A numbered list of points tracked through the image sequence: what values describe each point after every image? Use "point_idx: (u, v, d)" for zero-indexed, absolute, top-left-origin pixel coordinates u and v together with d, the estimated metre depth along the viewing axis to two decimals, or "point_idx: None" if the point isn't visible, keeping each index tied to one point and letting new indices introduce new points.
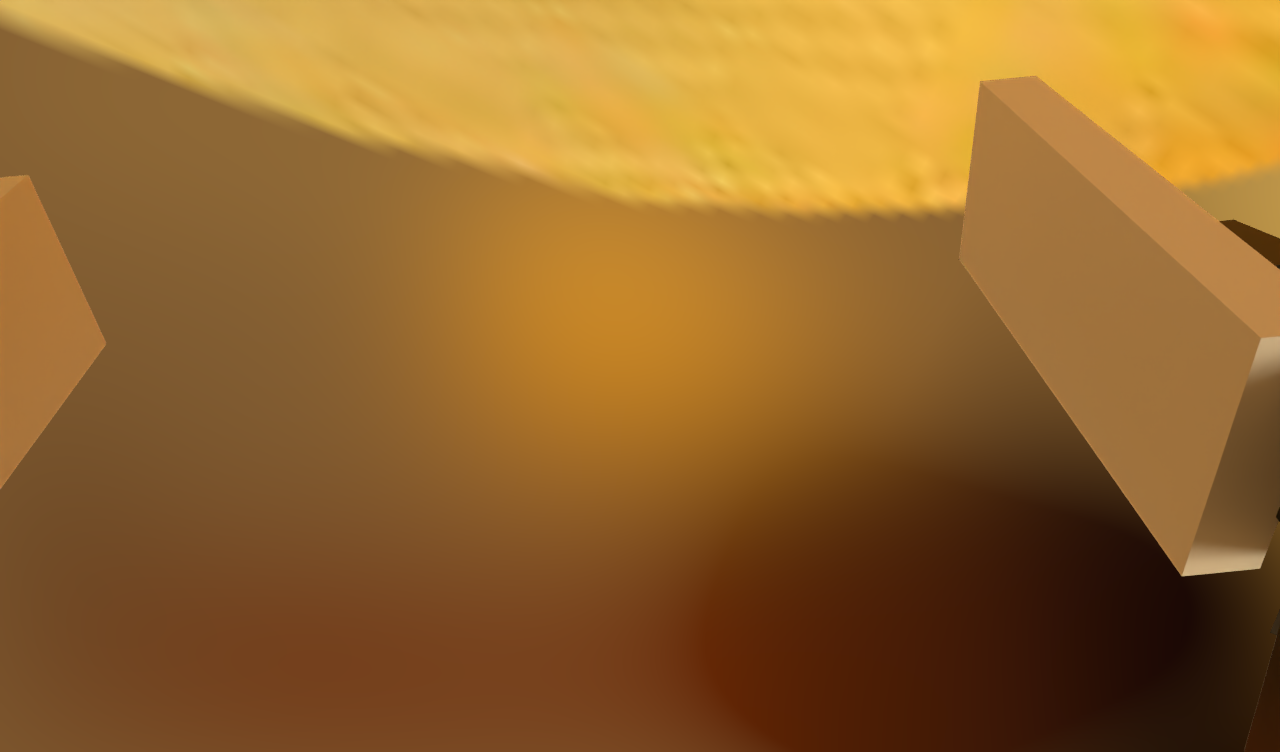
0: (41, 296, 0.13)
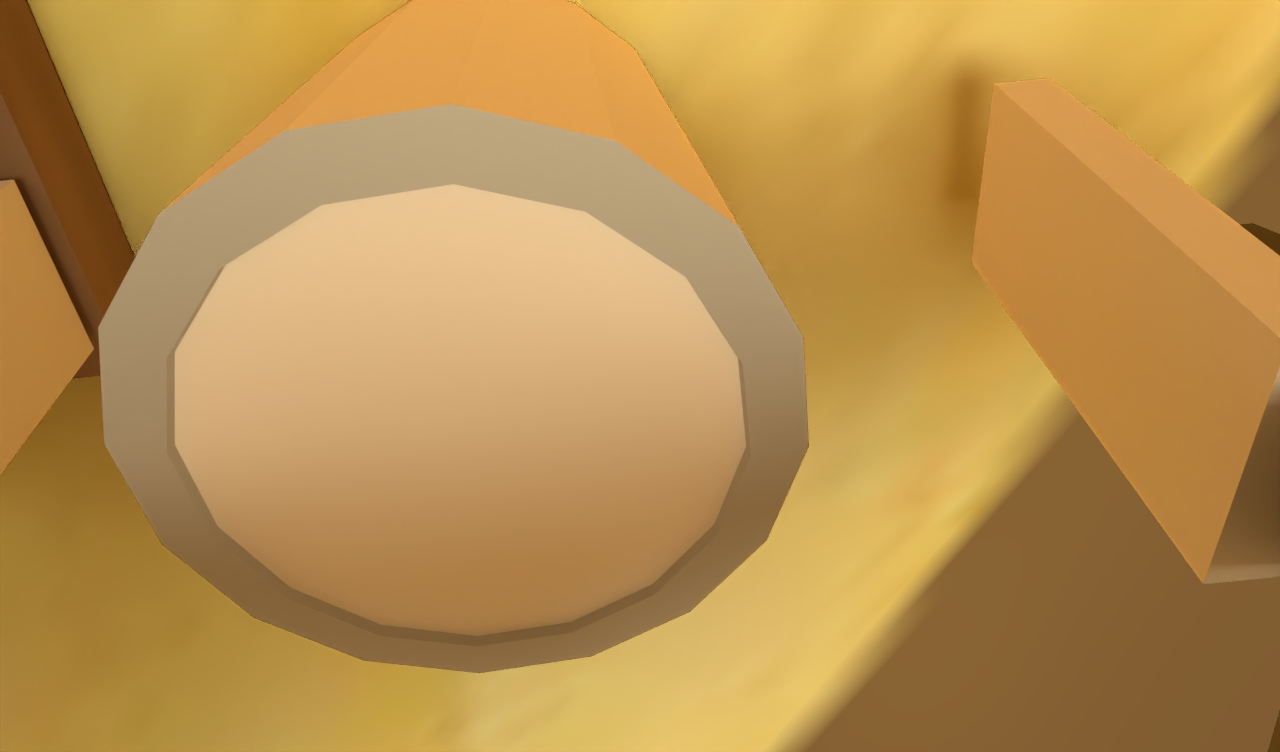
0: (27, 302, 0.13)
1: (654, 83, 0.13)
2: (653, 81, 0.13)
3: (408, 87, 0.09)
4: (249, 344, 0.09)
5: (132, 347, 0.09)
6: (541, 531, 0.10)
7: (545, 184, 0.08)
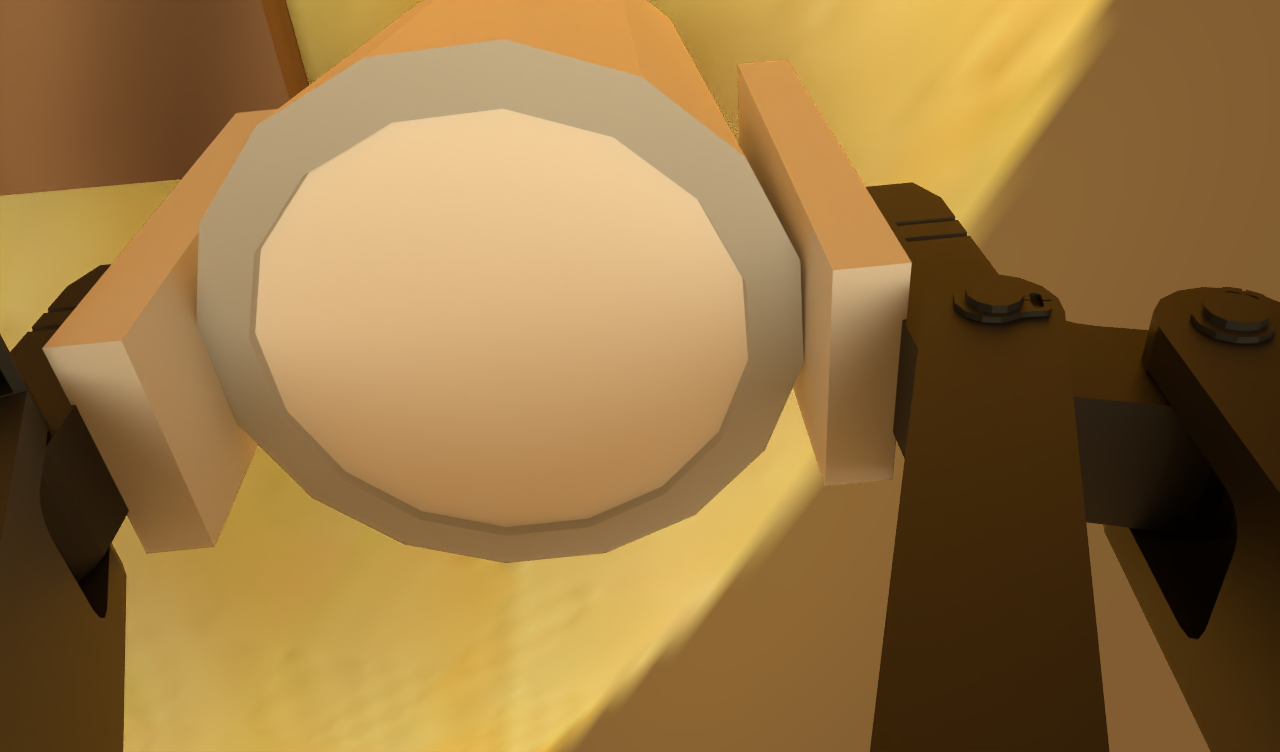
0: None
1: (685, 47, 0.14)
2: (684, 46, 0.14)
3: (467, 28, 0.10)
4: (323, 245, 0.10)
5: (226, 243, 0.10)
6: (565, 430, 0.12)
7: (580, 112, 0.09)
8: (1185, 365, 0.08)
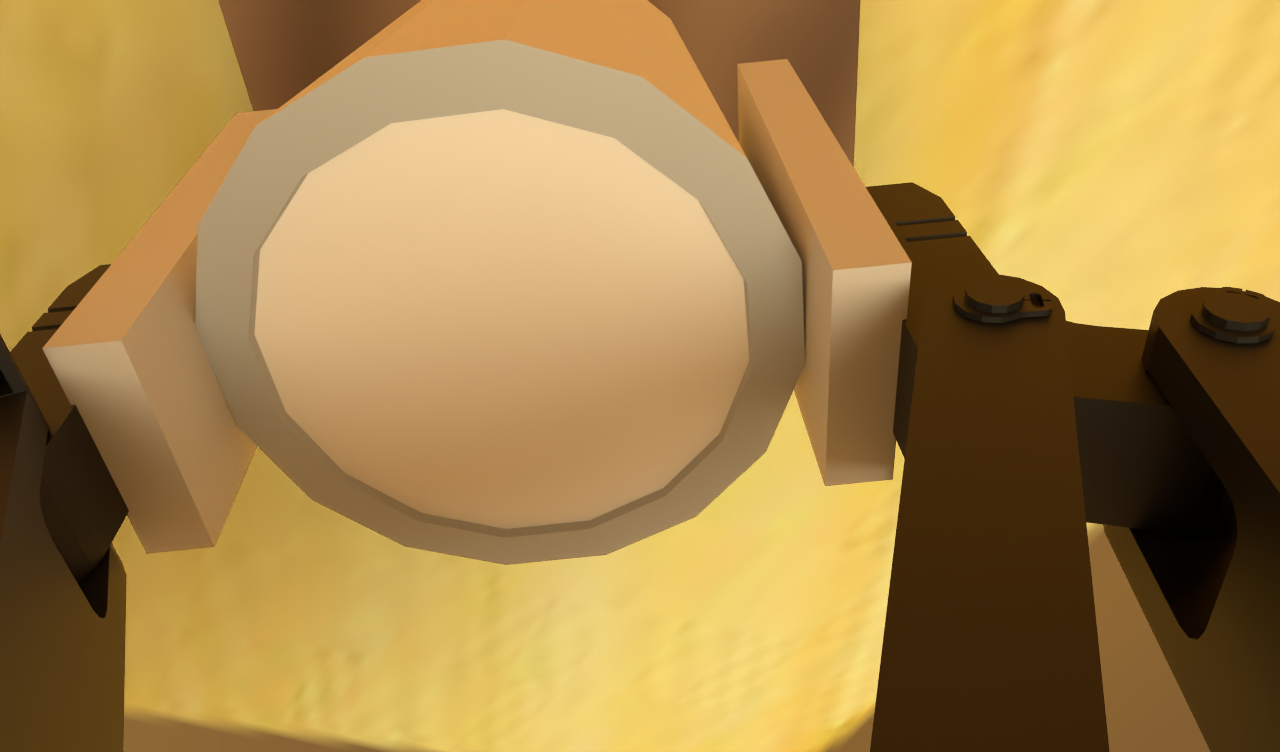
0: None
1: None
2: (685, 46, 0.14)
3: (468, 29, 0.10)
4: (323, 246, 0.10)
5: (225, 244, 0.10)
6: (566, 432, 0.12)
7: (581, 112, 0.09)
8: (1185, 365, 0.08)
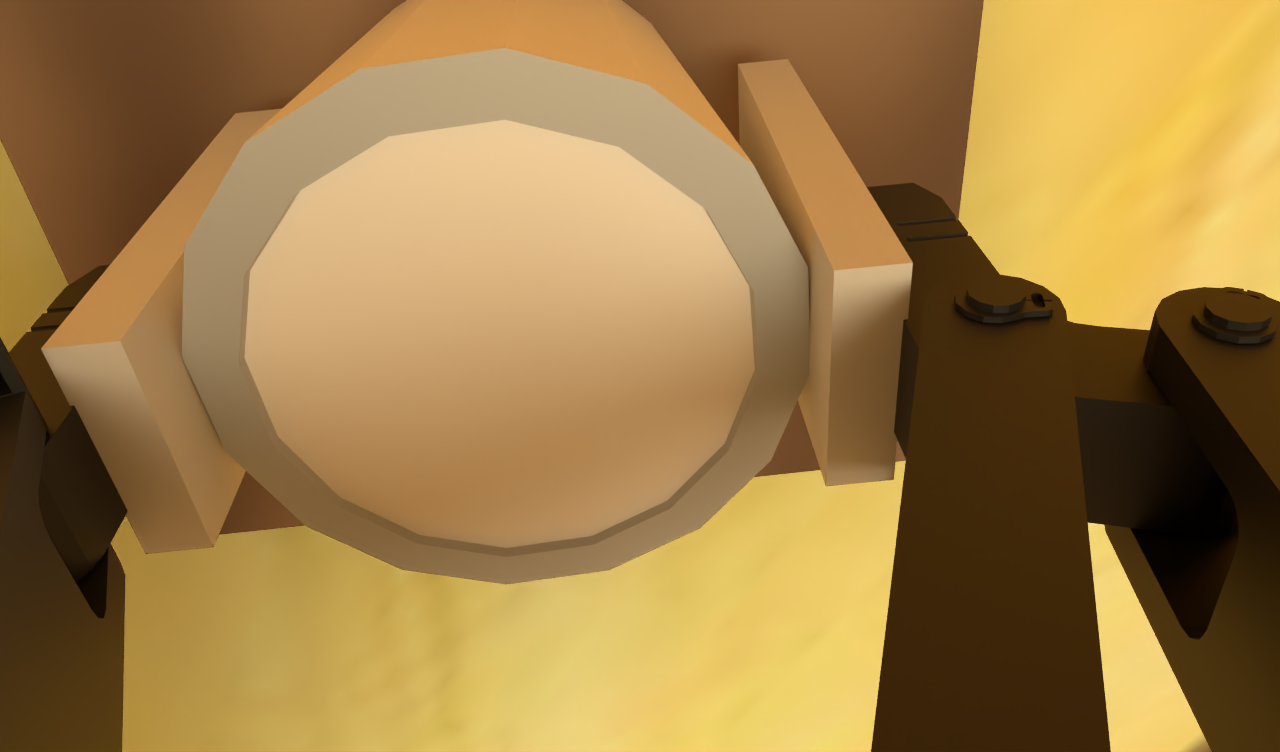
0: None
1: (671, 52, 0.14)
2: (670, 50, 0.14)
3: (463, 37, 0.10)
4: (316, 264, 0.10)
5: (213, 265, 0.10)
6: (568, 447, 0.11)
7: (585, 121, 0.09)
8: (1186, 365, 0.08)
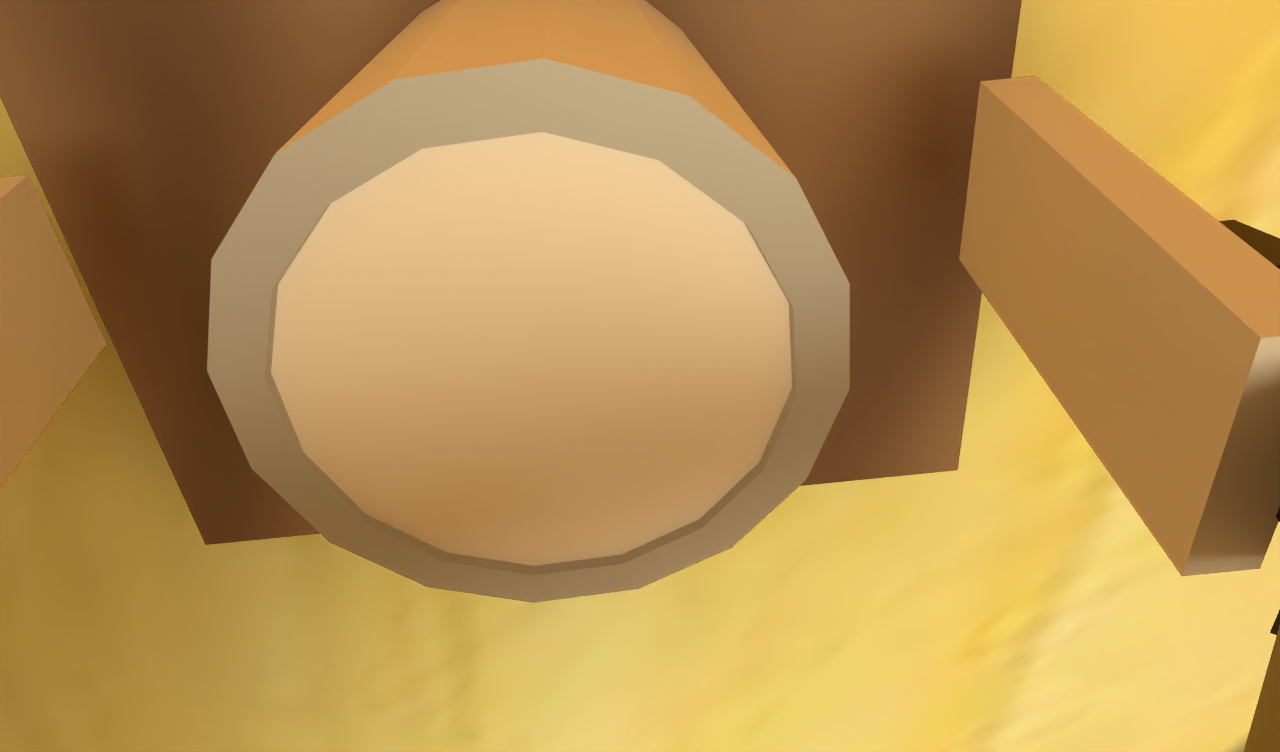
0: (41, 296, 0.13)
1: None
2: (702, 57, 0.14)
3: (498, 46, 0.09)
4: (346, 278, 0.10)
5: (241, 278, 0.10)
6: (599, 465, 0.11)
7: (624, 134, 0.09)
8: None
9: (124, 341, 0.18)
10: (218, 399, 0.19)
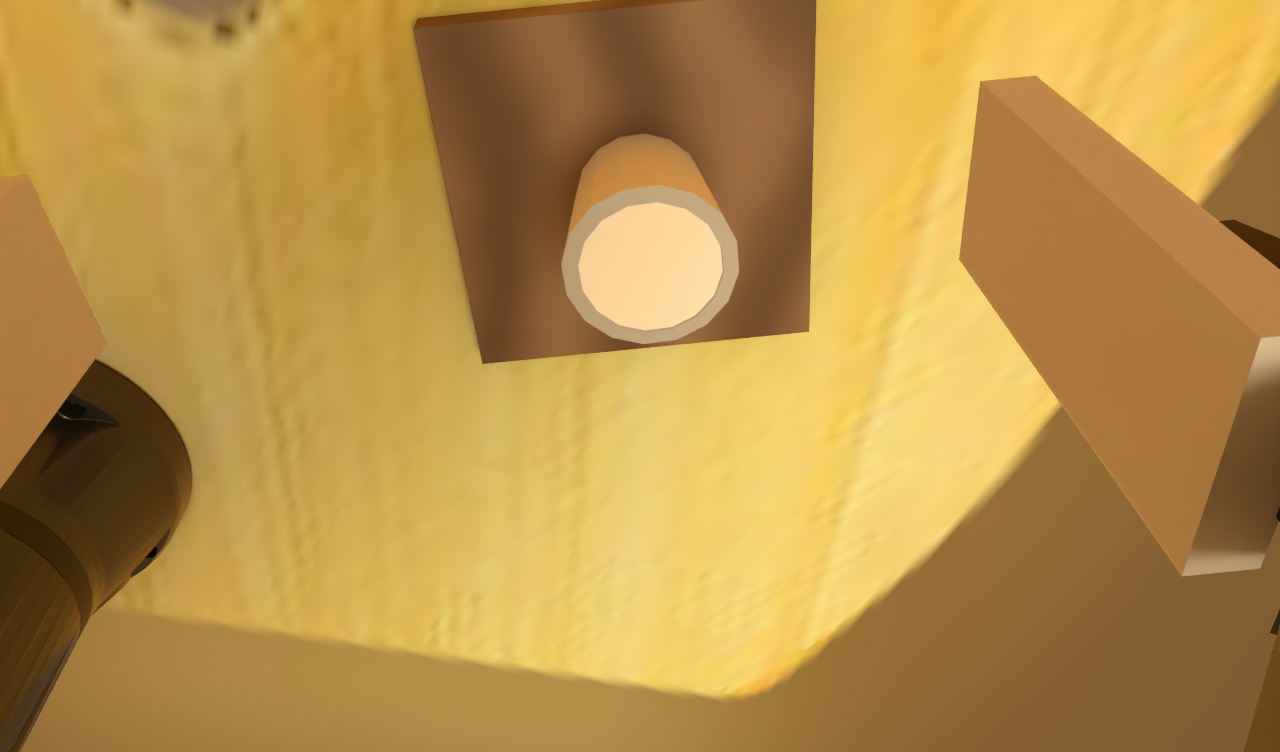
0: (41, 296, 0.13)
1: (697, 169, 0.40)
2: (697, 169, 0.41)
3: (644, 179, 0.36)
4: (602, 239, 0.37)
5: (576, 239, 0.37)
6: (667, 295, 0.38)
7: (677, 202, 0.36)
8: None
9: (468, 271, 0.45)
10: (500, 296, 0.46)
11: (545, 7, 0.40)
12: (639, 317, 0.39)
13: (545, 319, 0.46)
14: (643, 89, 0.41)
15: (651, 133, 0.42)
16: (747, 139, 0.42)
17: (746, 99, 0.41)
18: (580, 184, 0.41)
